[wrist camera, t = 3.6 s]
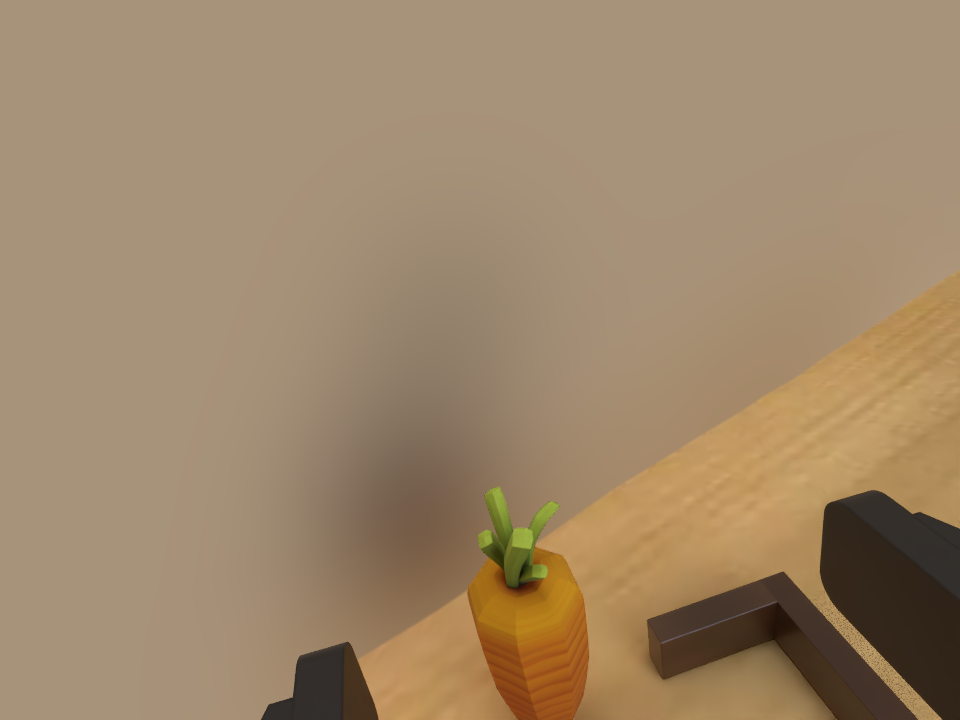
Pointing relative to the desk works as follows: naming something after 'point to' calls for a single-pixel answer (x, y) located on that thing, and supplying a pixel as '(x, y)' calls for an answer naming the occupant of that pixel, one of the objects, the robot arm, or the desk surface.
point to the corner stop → (798, 630)
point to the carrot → (529, 618)
